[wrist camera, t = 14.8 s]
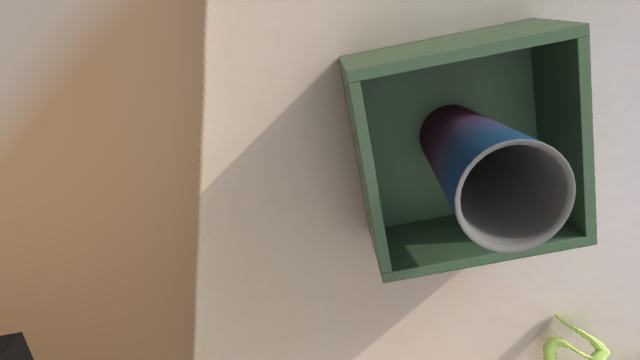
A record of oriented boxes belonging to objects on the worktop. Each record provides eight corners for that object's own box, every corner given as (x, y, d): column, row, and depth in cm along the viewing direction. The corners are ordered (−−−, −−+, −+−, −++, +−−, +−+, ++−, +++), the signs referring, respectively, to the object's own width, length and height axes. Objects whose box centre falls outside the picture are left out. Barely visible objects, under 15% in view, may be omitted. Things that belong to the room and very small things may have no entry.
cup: (416, 182, 46) (464, 265, 32) (401, 104, 44) (445, 155, 30) (497, 164, 46) (581, 238, 32) (485, 84, 44) (570, 125, 30)
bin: (338, 56, 44) (345, 71, 35) (534, 17, 43) (589, 23, 35) (370, 233, 49) (383, 283, 40) (546, 200, 48) (597, 244, 40)
